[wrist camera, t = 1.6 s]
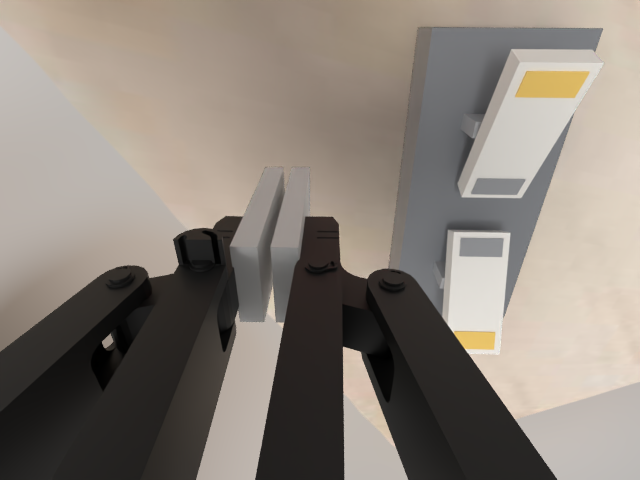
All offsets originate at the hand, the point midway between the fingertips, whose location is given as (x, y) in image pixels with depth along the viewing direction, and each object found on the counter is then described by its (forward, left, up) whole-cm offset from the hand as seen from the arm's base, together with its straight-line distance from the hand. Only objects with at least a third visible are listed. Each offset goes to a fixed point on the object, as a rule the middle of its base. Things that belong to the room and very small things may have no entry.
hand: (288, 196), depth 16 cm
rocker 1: (+14, +15, -11) cm, 23 cm away
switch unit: (+7, +15, -20) cm, 26 cm away
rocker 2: (0, +15, -11) cm, 19 cm away
